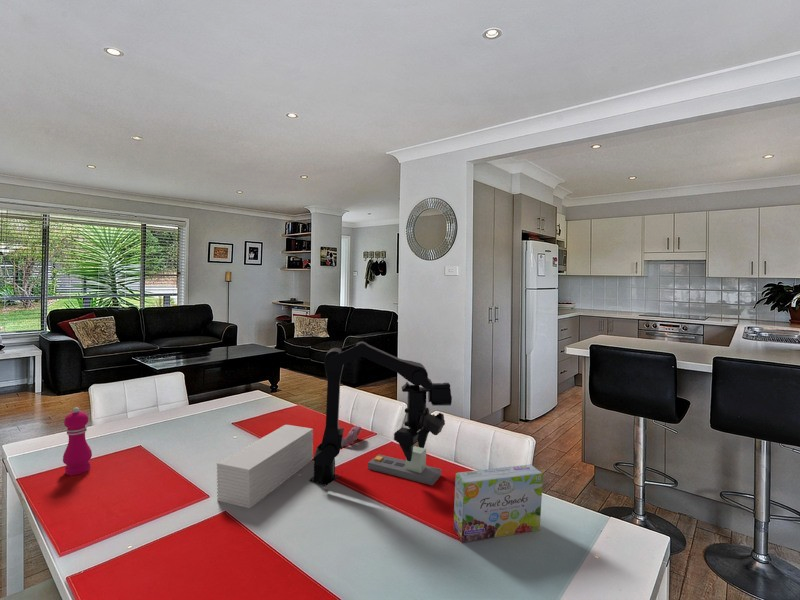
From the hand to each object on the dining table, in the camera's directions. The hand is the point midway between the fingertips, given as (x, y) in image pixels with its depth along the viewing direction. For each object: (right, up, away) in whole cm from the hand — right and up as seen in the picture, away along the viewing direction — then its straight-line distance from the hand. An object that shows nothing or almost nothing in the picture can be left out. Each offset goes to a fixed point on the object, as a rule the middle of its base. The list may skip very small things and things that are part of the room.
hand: (415, 455), depth 131 cm
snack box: (+19, -10, -26) cm, 34 cm away
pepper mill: (-105, -6, +2) cm, 105 cm away
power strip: (-4, -7, +2) cm, 8 cm away
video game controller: (-23, -5, +27) cm, 36 cm away
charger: (0, -6, 0) cm, 6 cm away
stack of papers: (-44, -7, -1) cm, 45 cm away
